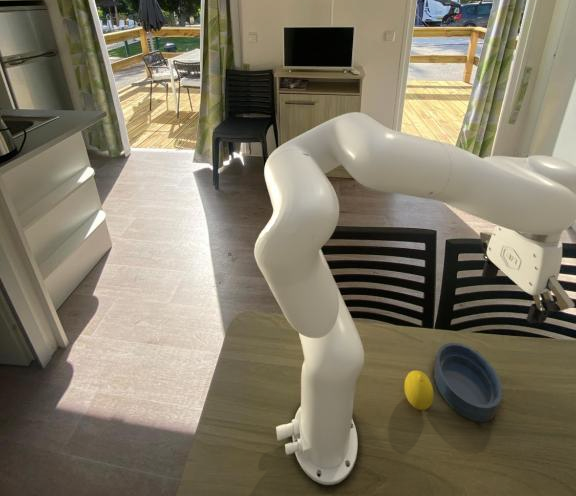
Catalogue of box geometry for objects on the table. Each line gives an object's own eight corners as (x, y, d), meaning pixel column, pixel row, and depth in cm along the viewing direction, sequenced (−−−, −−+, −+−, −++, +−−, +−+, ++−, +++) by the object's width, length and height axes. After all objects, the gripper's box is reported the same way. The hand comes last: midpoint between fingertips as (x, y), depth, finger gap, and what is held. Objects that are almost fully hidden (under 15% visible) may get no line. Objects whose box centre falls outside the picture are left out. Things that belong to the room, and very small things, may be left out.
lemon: (433, 422, 60) (439, 396, 57) (404, 415, 61) (409, 389, 59) (426, 390, 65) (432, 365, 63) (400, 384, 66) (404, 359, 64)
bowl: (461, 431, 59) (465, 415, 57) (422, 364, 70) (425, 349, 68) (511, 414, 61) (517, 398, 60) (465, 352, 72) (469, 337, 71)
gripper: (476, 198, 59) (460, 265, 65) (570, 265, 43) (539, 347, 49) (506, 194, 61) (488, 259, 66) (608, 257, 45) (574, 337, 50)
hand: (510, 296), depth 58 cm, fingers open, 9 cm apart
